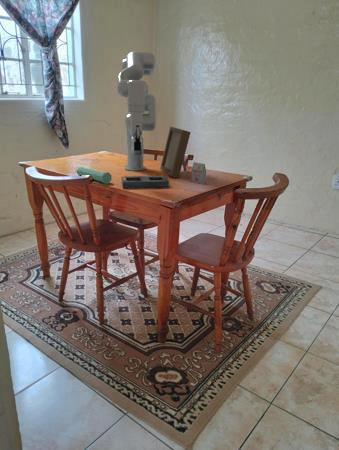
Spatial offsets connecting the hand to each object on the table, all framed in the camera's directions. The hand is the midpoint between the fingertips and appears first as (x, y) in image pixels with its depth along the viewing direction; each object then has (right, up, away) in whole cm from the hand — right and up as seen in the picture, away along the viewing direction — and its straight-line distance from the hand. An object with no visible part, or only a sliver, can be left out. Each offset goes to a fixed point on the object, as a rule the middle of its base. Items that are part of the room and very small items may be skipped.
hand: (136, 149), depth 167 cm
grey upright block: (+30, -14, +14) cm, 36 cm away
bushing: (0, -2, +1) cm, 2 cm away
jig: (+3, -16, +7) cm, 18 cm away
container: (-22, -9, +16) cm, 29 cm away
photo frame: (+20, -7, +35) cm, 41 cm away
